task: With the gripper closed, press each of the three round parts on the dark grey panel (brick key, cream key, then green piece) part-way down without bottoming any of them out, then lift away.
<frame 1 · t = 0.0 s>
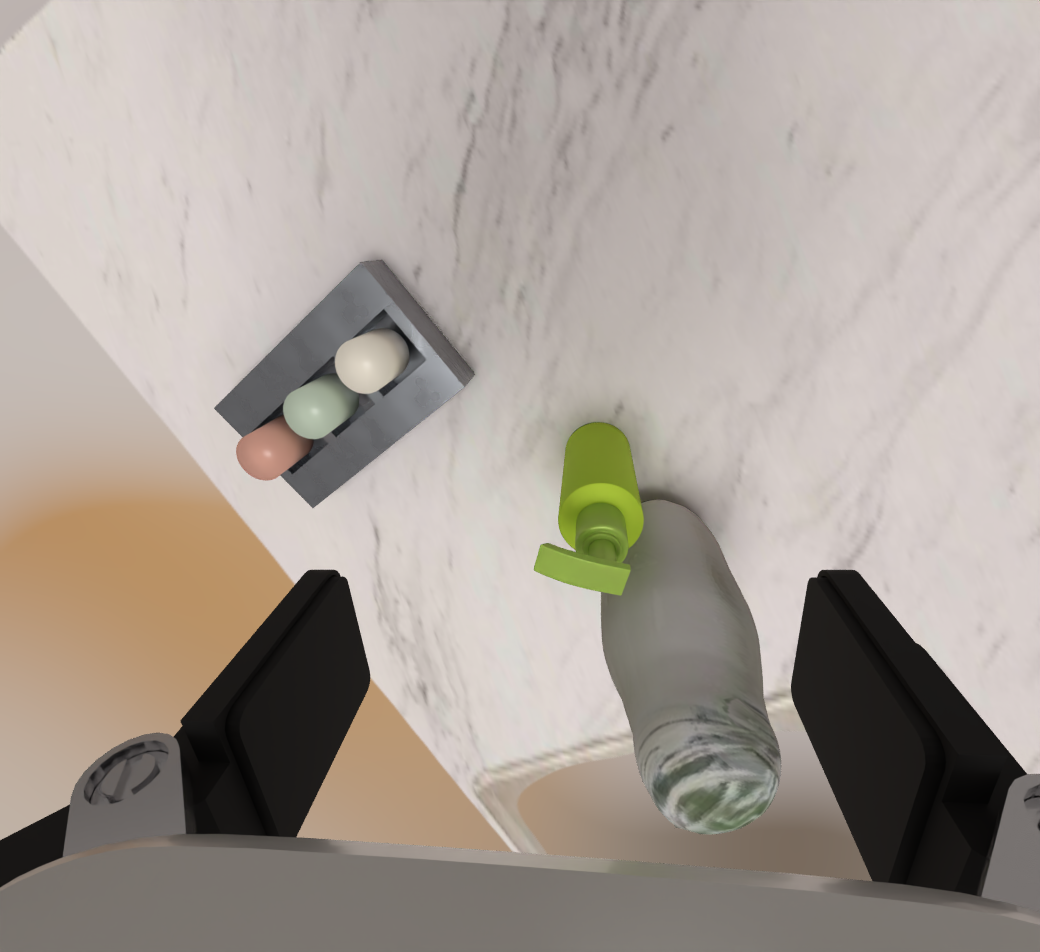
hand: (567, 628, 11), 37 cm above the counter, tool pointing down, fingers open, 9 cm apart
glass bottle: (652, 528, 52), on the counter
soap dispenser: (591, 450, 49), on the counter
panel: (355, 384, 49), on the counter
brick key: (276, 446, 45), point 7 cm above the counter, slide at 0.0 cm
green piece: (323, 405, 43), point 7 cm above the counter, slide at 0.0 cm
cream key: (374, 359, 41), point 7 cm above the counter, slide at 0.0 cm
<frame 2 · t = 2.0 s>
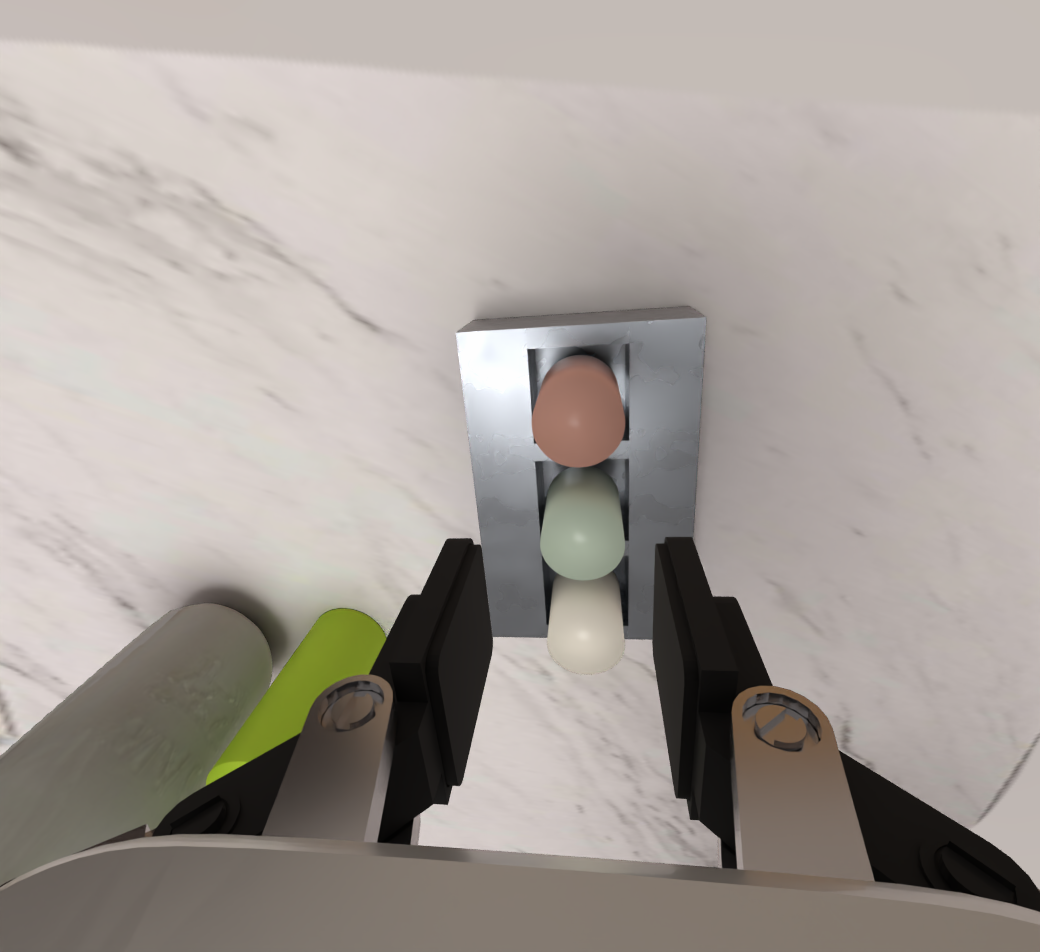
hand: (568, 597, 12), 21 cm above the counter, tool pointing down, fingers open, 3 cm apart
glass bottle: (237, 631, 43), on the counter
soap dispenser: (355, 633, 42), on the counter
panel: (583, 469, 34), on the counter
brick key: (578, 407, 25), point 7 cm above the counter, slide at 0.0 cm
green piece: (582, 520, 28), point 7 cm above the counter, slide at 0.0 cm
cream key: (585, 614, 30), point 7 cm above the counter, slide at 0.0 cm
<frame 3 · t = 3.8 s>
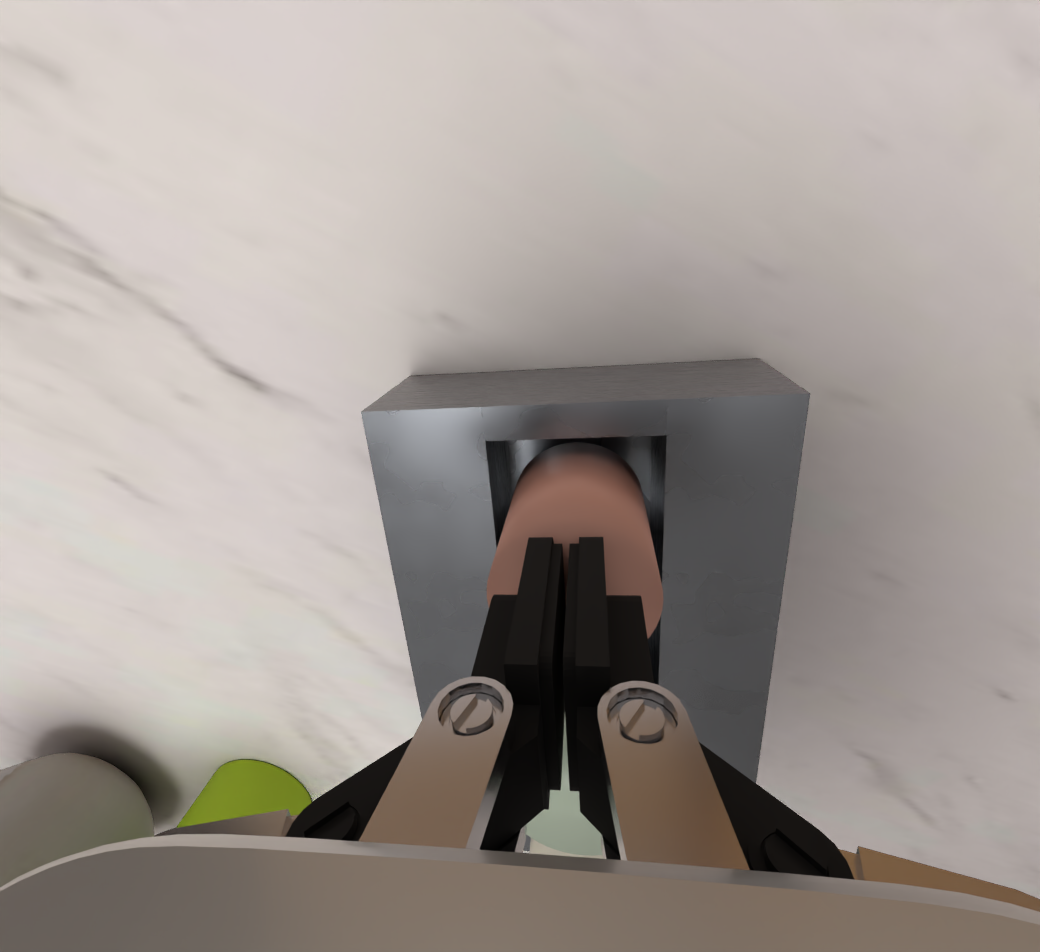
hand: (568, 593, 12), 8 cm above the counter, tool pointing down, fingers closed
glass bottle: (113, 779, 32), on the counter
soap dispenser: (269, 789, 30), on the counter
panel: (584, 595, 22), on the counter
brick key: (575, 543, 14), point 6 cm above the counter, slide at 0.7 cm, touching gripper
green piece: (582, 726, 16), point 7 cm above the counter, slide at 0.0 cm
cream key: (587, 854, 19), point 7 cm above the counter, slide at 0.0 cm
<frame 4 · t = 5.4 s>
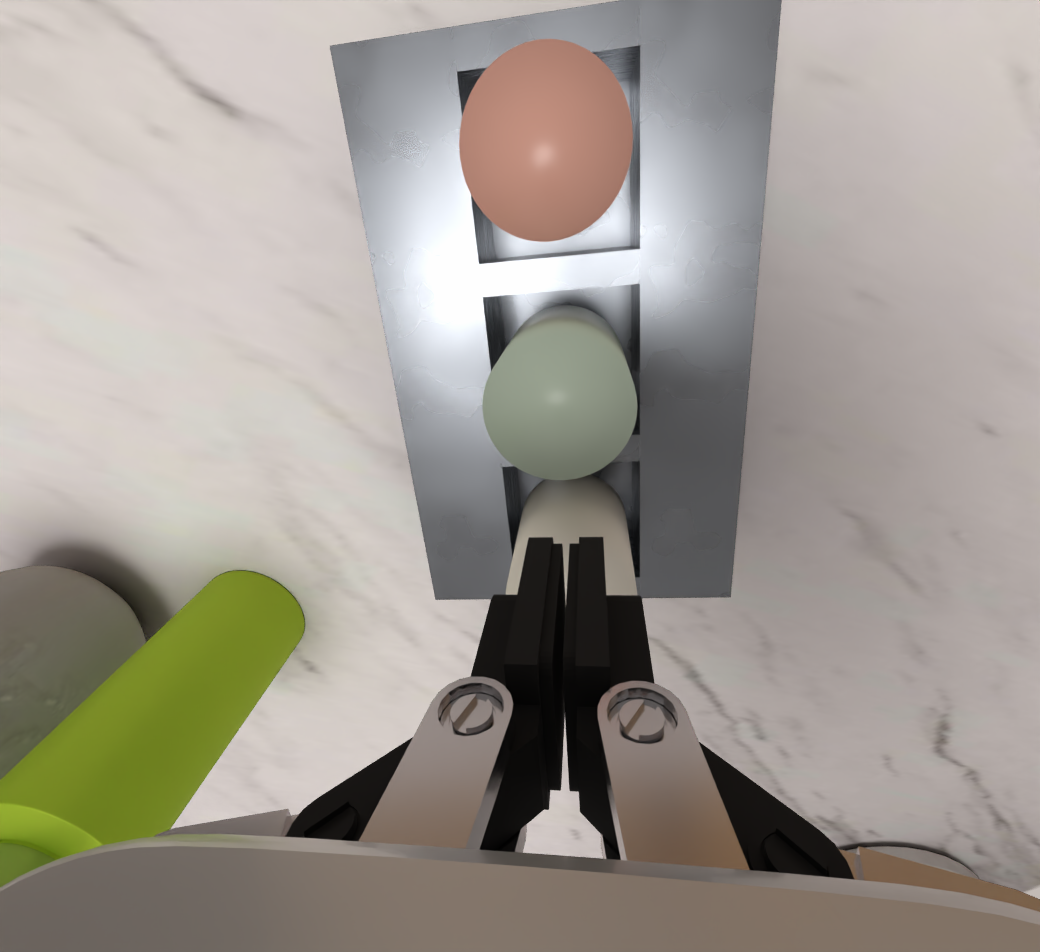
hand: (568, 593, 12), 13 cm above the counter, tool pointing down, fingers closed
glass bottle: (104, 607, 32), on the counter
soap dispenser: (261, 606, 30), on the counter
panel: (567, 342, 22), on the counter
brick key: (550, 159, 15), point 6 cm above the counter, slide at 1.0 cm
green piece: (562, 384, 16), point 7 cm above the counter, slide at 0.0 cm
cream key: (572, 554, 19), point 7 cm above the counter, slide at 0.0 cm
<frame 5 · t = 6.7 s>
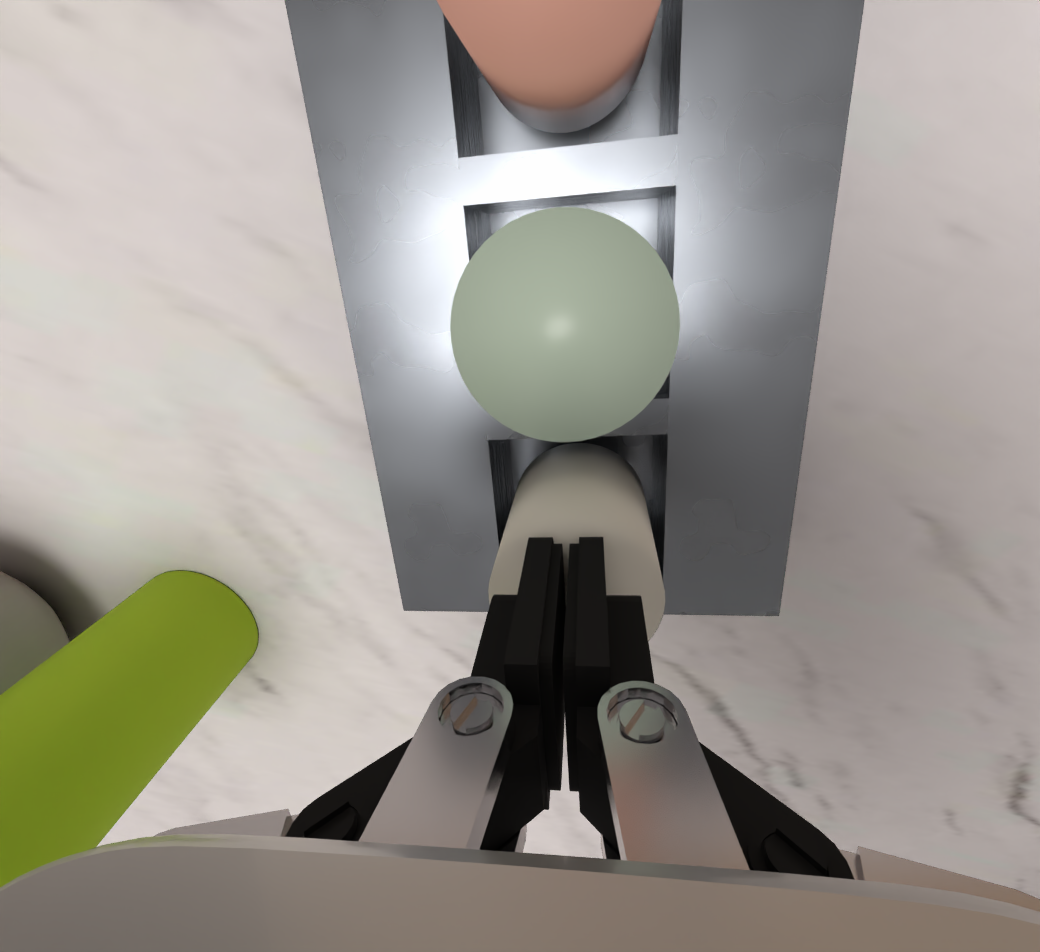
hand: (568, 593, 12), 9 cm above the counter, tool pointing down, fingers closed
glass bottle: (28, 611, 27), on the counter
soap dispenser: (208, 614, 26), on the counter
panel: (575, 291, 18), on the counter
green piece: (567, 316, 12), point 7 cm above the counter, slide at 0.0 cm
cream key: (577, 543, 14), point 6 cm above the counter, slide at 0.5 cm, touching gripper
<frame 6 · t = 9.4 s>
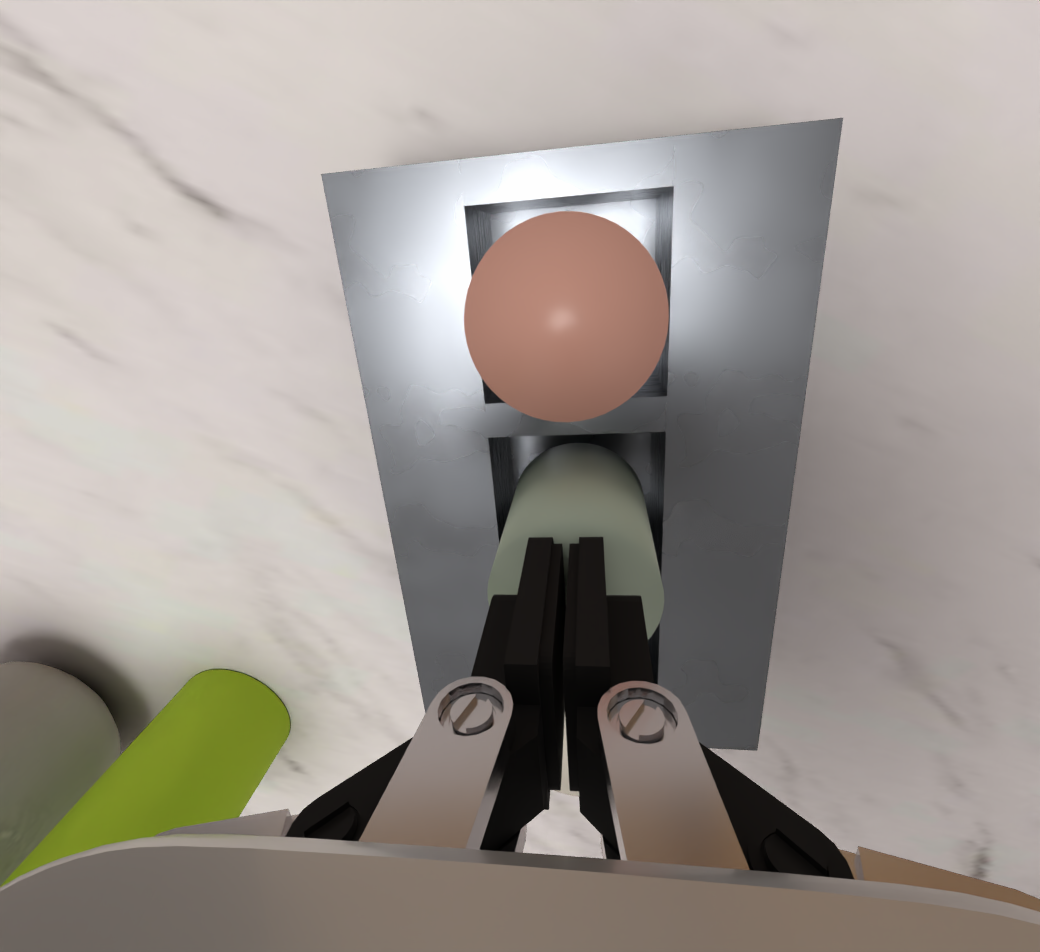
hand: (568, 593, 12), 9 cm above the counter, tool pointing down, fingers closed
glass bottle: (78, 698, 30), on the counter
soap dispenser: (244, 704, 28), on the counter
panel: (580, 458, 20), on the counter
brick key: (568, 310, 13), point 6 cm above the counter, slide at 1.0 cm
green piece: (576, 543, 14), point 6 cm above the counter, slide at 0.3 cm, touching gripper
cream key: (583, 684, 18), point 5 cm above the counter, slide at 1.4 cm
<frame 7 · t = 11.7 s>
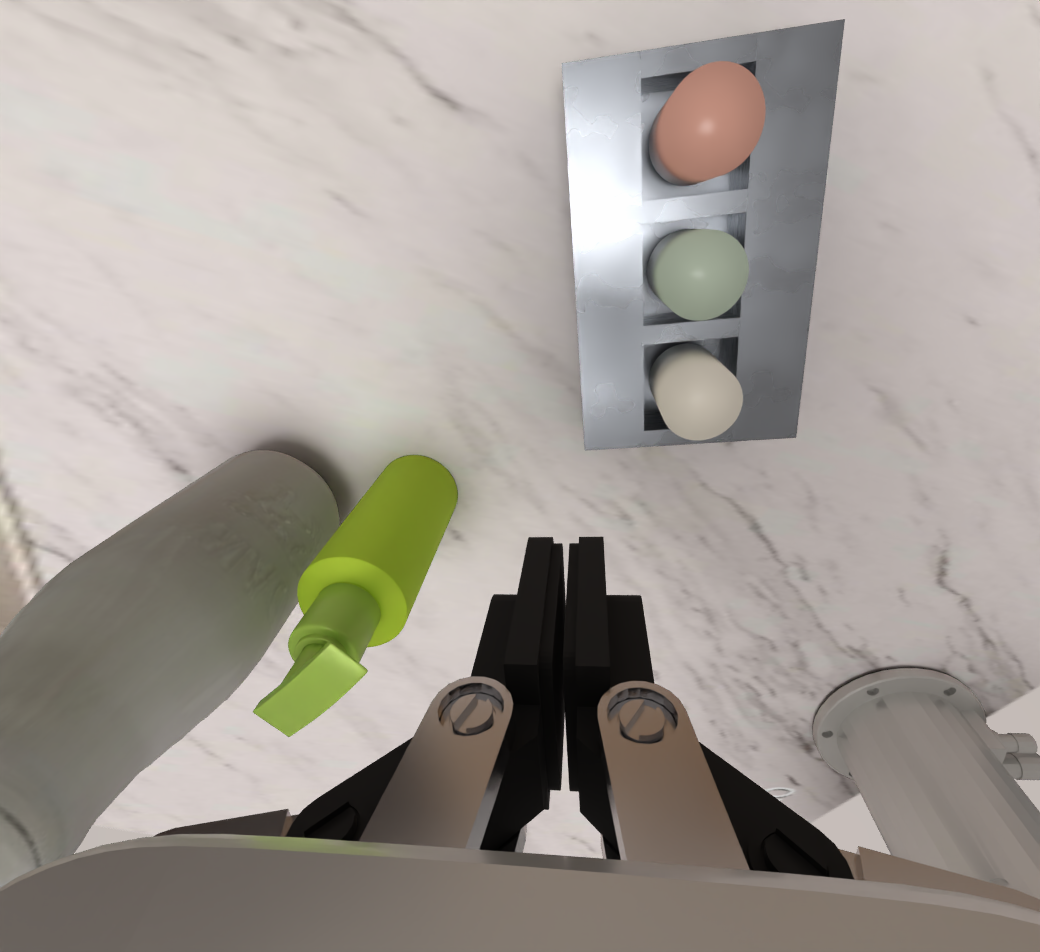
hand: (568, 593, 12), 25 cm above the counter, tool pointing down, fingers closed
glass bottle: (297, 492, 41), on the counter
soap dispenser: (423, 485, 40), on the counter
panel: (677, 265, 31), on the counter
brick key: (700, 131, 24), point 6 cm above the counter, slide at 1.0 cm
green piece: (693, 272, 27), point 5 cm above the counter, slide at 1.9 cm
cream key: (691, 389, 29), point 5 cm above the counter, slide at 1.4 cm
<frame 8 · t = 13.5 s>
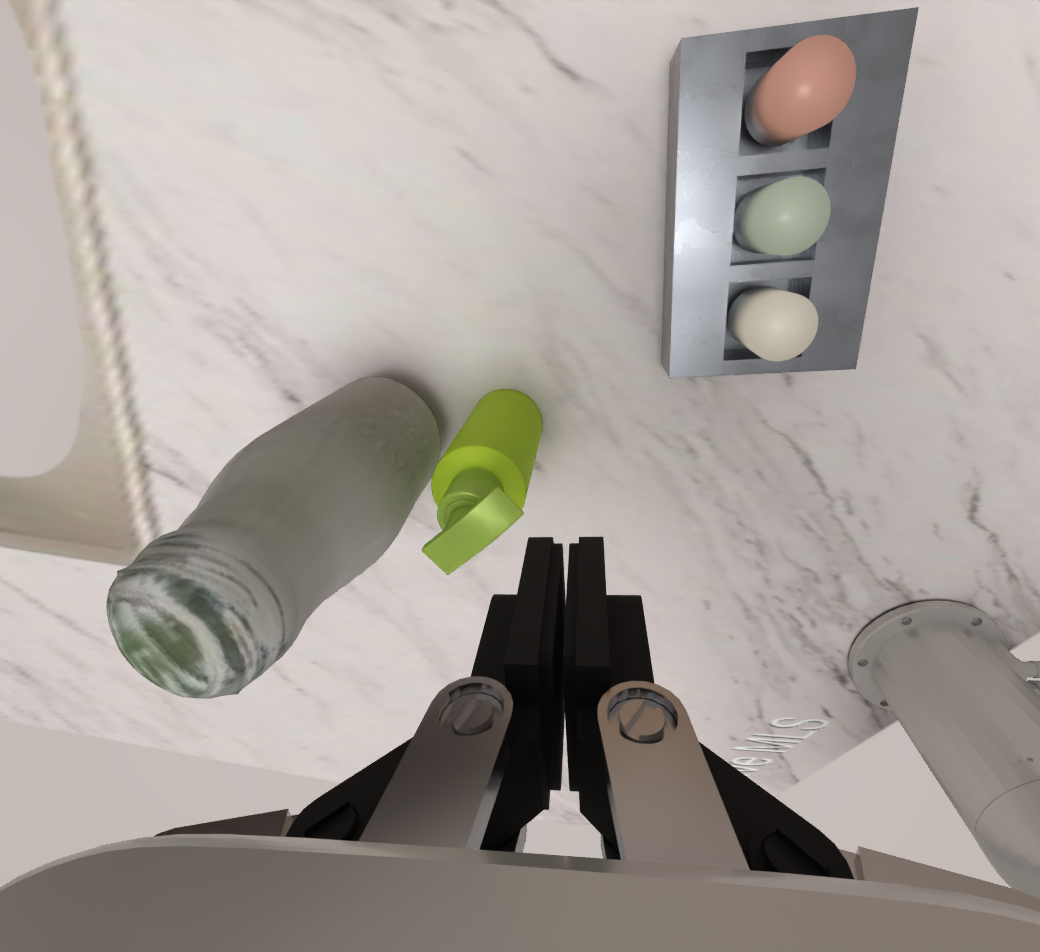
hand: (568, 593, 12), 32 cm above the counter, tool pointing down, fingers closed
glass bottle: (397, 423, 46), on the counter
soap dispenser: (512, 418, 45), on the counter
panel: (755, 220, 37), on the counter
brick key: (795, 96, 29), point 6 cm above the counter, slide at 1.0 cm
green piece: (777, 218, 32), point 5 cm above the counter, slide at 1.9 cm
cream key: (769, 322, 34), point 5 cm above the counter, slide at 1.4 cm
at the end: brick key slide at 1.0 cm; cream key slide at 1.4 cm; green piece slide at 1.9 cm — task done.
